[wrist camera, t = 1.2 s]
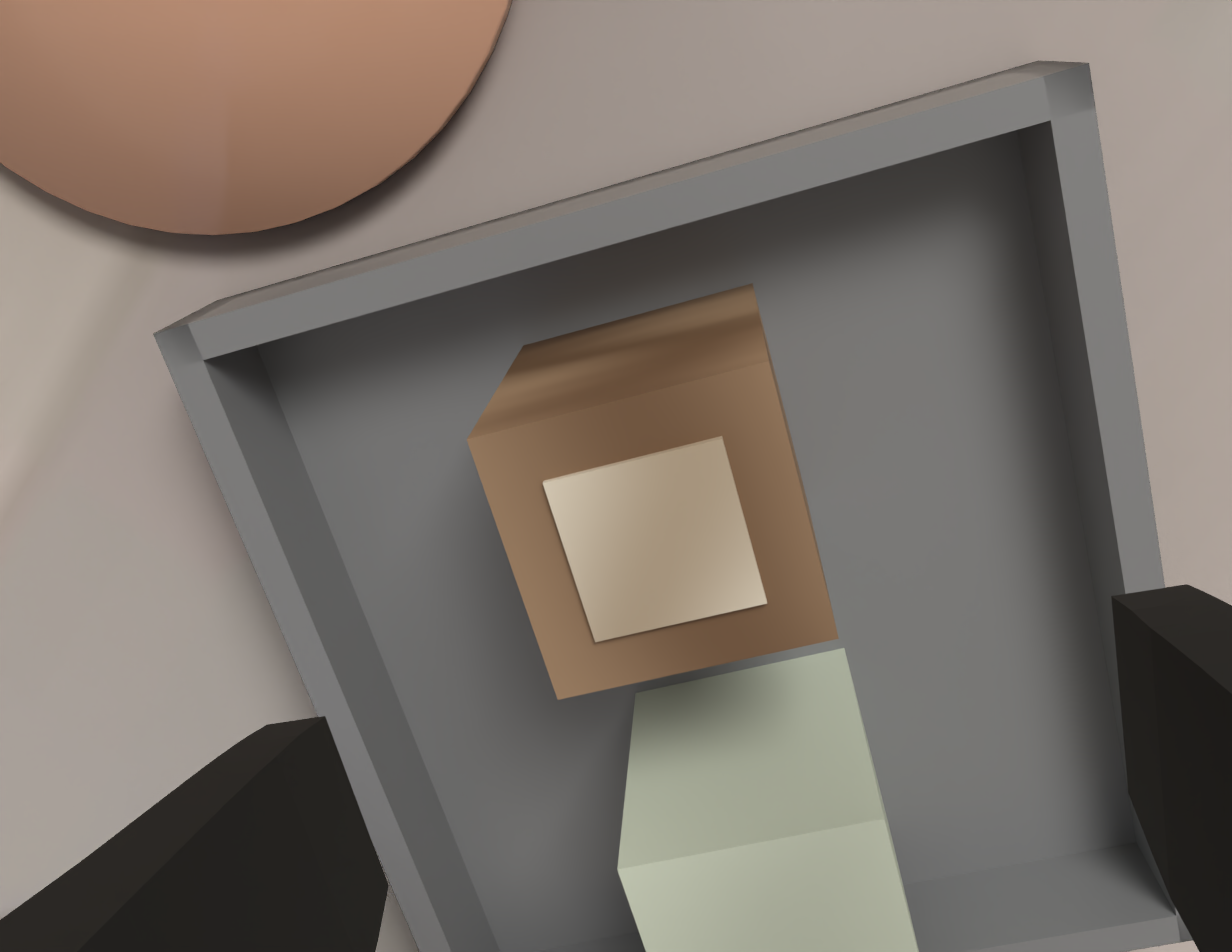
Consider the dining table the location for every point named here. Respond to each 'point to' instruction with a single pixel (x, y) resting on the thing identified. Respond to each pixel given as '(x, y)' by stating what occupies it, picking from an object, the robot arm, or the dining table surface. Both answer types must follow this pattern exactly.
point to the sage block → (759, 817)
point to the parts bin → (835, 490)
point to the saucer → (230, 101)
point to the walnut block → (653, 497)
